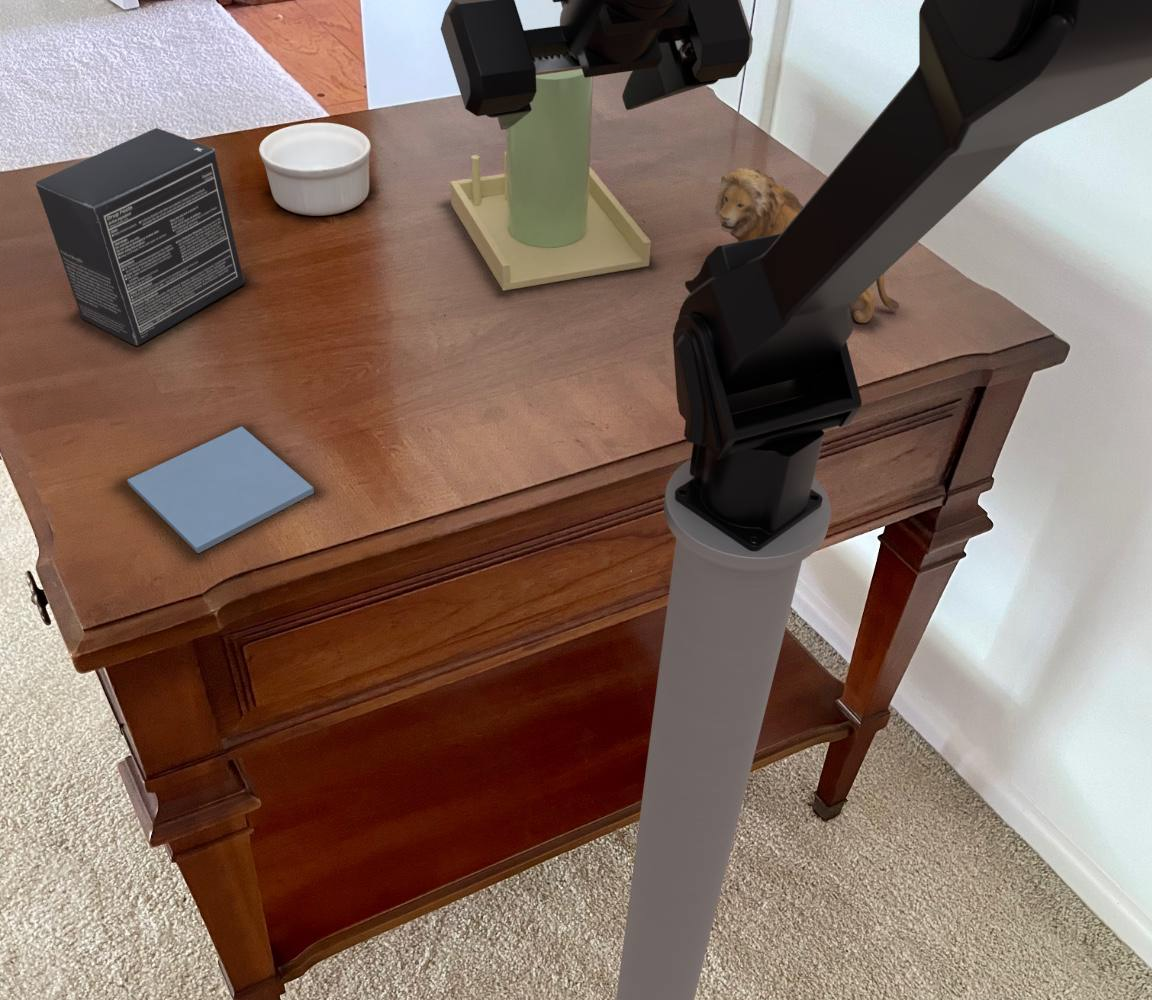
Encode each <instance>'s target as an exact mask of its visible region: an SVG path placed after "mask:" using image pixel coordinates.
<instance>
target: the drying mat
mask: <svg viewBox="0 0 1152 1000" xmlns="http://www.w3.org/2000/svg"><path fill="white" fill-rule="evenodd" d="M126 481H127V484H128V486H129V487H130V488H131V489H132V490H133V491H134V492H135V493H136V494H137V495H138V496H139V497H140V498H141V499H142V500H143V501H144V502H145V503H146V504H147V505H148V506H149V507H150V508H151V509H152V510H153V511H154V512H155V513H156V514H157V515H158V516H159V517H160V519H162V520H163V521H164V522H165V523H166V524H167V525H168V526H169V527H170V528H171V529H172V530H173V531H174V532H175V533H176V534H177V535H178V536H179V537H181V539H182V540H183V541H184V542H185V543H186V544H187V545H188V546H189V547H190V548H191V549H193V551H194V552H195V553H197V554H201V553H202V552H205V551H206V550H208V549H210V548H212V547H214V546H216V545H218V544H220V543H222V542H223V541H225V540H227V539H229V538H231V537H233V536H235V535H237V534H239V533H240V532H243V531H245V530H247V529H248V528H251V527H253V526H254V525H257V524H258V523H260V522H262V521H264V520H266V519H268V518H270V517H272V516H273V515H275V514H277V513H279V512H281V511H283V510H285V509H287V508H289V507H291V506H293V505H295V504H297V503H299V502H300V501H302V500H304V499H306V498H308V497H310V496H311V495H314V494H315V490H314V486H312V484H310V483H309V482H308V481H306V480H305V479H304V478H303V477H302V476H301V475H300V474H298V473H297V472H296V471H295V470H294V469H292V468H291V467H290V466H289V465H288V464H286V463H285V462H284V461H283V460H282V459H281V458H279V457H278V456H277V455H276V454H275V453H274V452H273V451H271V450H270V449H269V448H268V447H267V446H266V445H264V444H263V443H262V442H261V441H259V439H258V438H256V437H255V436H254V435H253V434H252V433H251V432H249V431H248V430H247V429H246V428H245V427H243V426H238V427H236V428H235V429H233V430H230V431H227V432H226V433H224V434H223V435H220V436H217V437H216V438H213V439H211V440H209V441H207V442H204V443H202V444H200V445H199V446H196V447H194V448H192V449H190V450H188V451H186V452H183V453H182V454H179V455H177V456H175V457H173V458H171V459H169V460H167V461H164V462H162V463H160V464H158V465H155V466H154V467H151V468H149V469H147V470H145V471H143V472H141V473H139V474H137V475H134V476H132V477H130V478H128V479H126Z"/></svg>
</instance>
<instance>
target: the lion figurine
mask: <svg viewBox="0 0 1152 1000" xmlns="http://www.w3.org/2000/svg"><path fill="white" fill-rule="evenodd" d="M718 191H719V192H718V194H717V198H716V202H715V206H714V209H715V213H716V217H717V219H718V221H719V223H720V224H721V230H722V231H723V232H724V233H728V234H729V235H730V236H732V237H734V238H735V239H736V240H737V242H741V241H746V240H751V239H756V238H760V237H765V236H770V235H775V234H780V233H782V232H783V231H784V230H785V229H786V227H787V226H788V225H789V224H790V223H791V221H792V220H793V219H794V218H795V216H796V215H797V214H798V213H799V212H800V210H801V209H802V208H803V207H804V205H802V204H801V202H800V200H799V199H798V197H797V196H796V195H795V193H793V191H790V190H789V189H788V188H785V186H784V185H783V184H781V183H776V180H775V178H774V177H772V176H768V175H767V174H765V173H763V172H761V171H760V170H759V169H756V170H754V169H751V168H750V167H746V168H744V167H739V168H736V169H734V170H733V171H730V172H729V173H728V175H722V176H721V182H720V188H719V190H718ZM875 282H876V288H877V292H878V296H879V298H880V300H881V302H882V304H883V305H884V306H885V307H886V308H888V309H889V310H898V309H899V308H900V303H899V302H898V301H896V300H895V299H893V298H891V297H889V296H888V295H887V292H886V288H885V273H884V274H883V275H882V276H880V277H879V278H878V279H877V280H876V281H875ZM857 299H858V301H860V303H861V305H862V307H863V308H862V309H856V310H855V311H854V312H853V313H852V314H853V319H854V321H855V322H857V324H867V323H868V322H869V321H870V320H871V319H872V317H873V315H874V312H875V292H874V291H873V290H872V289H871V286H870V287H869V288H868V289H867V290H866V291H864V292H863V293H862V294H861V295H860V296H859V297H858V298H857Z"/></svg>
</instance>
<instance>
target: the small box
mask: <svg viewBox="0 0 1152 1000" xmlns="http://www.w3.org/2000/svg"><path fill="white" fill-rule="evenodd" d="M34 184H35V187H36V190H37V194H38V195H39V197H40V200H41V203H42V206H43V208H44V212H45V215H46V218H47V221H48V224H49V227H50V230H51V232H52V235H53V239H54V241H55V244H56V247H57V250H58V253H59V255H60V259H61V261H62V265H63V268H64V270H65V273H66V276H67V279H68V283H69V286H70V289H71V291H72V294H73V297H74V299H75V302H76V305H77V308H78V309H77V310H78V313H79V315H80V318H81V319H82V320H84V321H85V322H87V323H89V324H90V325H91V324H92V325H93V326H95V327H97V328H99V329H101V330H103V331H105V332H107V333H109V334H111V335H113V336H115V337H117V338H119V339H121V340H123V341H125V342H127V343H129V344H131V345H133V346H135V347H139V346H140V345H142V344H144V343H146V342H148V341H150V340H151V339H152V338H155V337H156V336H158V335H159V334H161V333H163V332H164V331H167V330H168V329H170V328H172V327H173V326H175V325H177V324H178V323H180V322H182V321H184V320H186V319H187V318H189V317H190V316H193V315H194V314H195V313H197V312H199V311H201V310H202V309H204V308H205V307H207V306H210V305H211V304H212V303H214V302H216V301H217V300H220V299H221V298H223V297H225V296H226V295H228V294H229V293H231V292H234V291H235V290H237V289H238V288H240V287H242V286H244V285H245V275H244V274H243V270H242V266H241V263H240V259H239V254H238V250H237V246H236V241H235V237H234V232H233V227H232V223H231V220H230V215H229V210H228V205H227V201H226V197H225V192H224V187H223V184H222V178H221V174H220V170H219V165H218V161H217V153H216V149H215V148H213V147H211V146H207V145H205V144H202V143H200V142H196V141H194V140H191V139H188V138H185V137H183V136H180V135H178V134H175V133H172V132H170V131H167V130H164V129H161V128H158V127H155V128H153V129H151V130H149V131H146V132H144V133H142V134H139V135H137V136H135V137H133V138H130V139H128V140H126V141H124V142H122V143H120V144H117V145H114V146H113V147H111V148H108V149H106V150H104V151H102V152H100V153H98V154H95V155H93V156H91V157H89V158H86V159H83V160H81V161H80V162H78V163H77V162H76V163H75V164H73V165H70V166H68V167H66V168H63V169H62V170H60V171H57V172H55V173H53V174H51V175H49V176H46V177H45V178H44V177H43V178H41V179H40V180H37V181H35V183H34Z"/></svg>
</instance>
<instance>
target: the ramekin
mask: <svg viewBox="0 0 1152 1000" xmlns="http://www.w3.org/2000/svg"><path fill="white" fill-rule="evenodd" d="M258 147H259V149H258V152H259V155H260V158H261V161H262V163H263V165H264V168H265V172H266V175H267V180H268V183H269V187H270V191H271V195H272V197H273V200H274V201H275V203H277V205H279V206H280V207H281V208H283V209H285V210H286V211H288V212H290V213H294V214H299V215H303V216H312V217H314V216H315V217H316V216H318V217H320V216H332V215H337V214H341V213H345V212H348V211H351V210H353V209H354V208H356V207H358V206H360V205H361V204H362V203H363V202H364V201H365V200H366V199H367V198H368V196H369V192H370V154H371V141H370V140H369V138H368V136H367V135H365V133H363V132H362V131H360V130H358V129H356V128H353V127H351V126H347V125H344V124H339V123H333V122H306V123H300V124H293V125H290V126H287V127H282V128H280V129H278V130H275V131H273V132H272V133H270V134H269V135H267V136H265V137H264V139H263V140H262V141H261V142H260V144H259V146H258Z"/></svg>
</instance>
